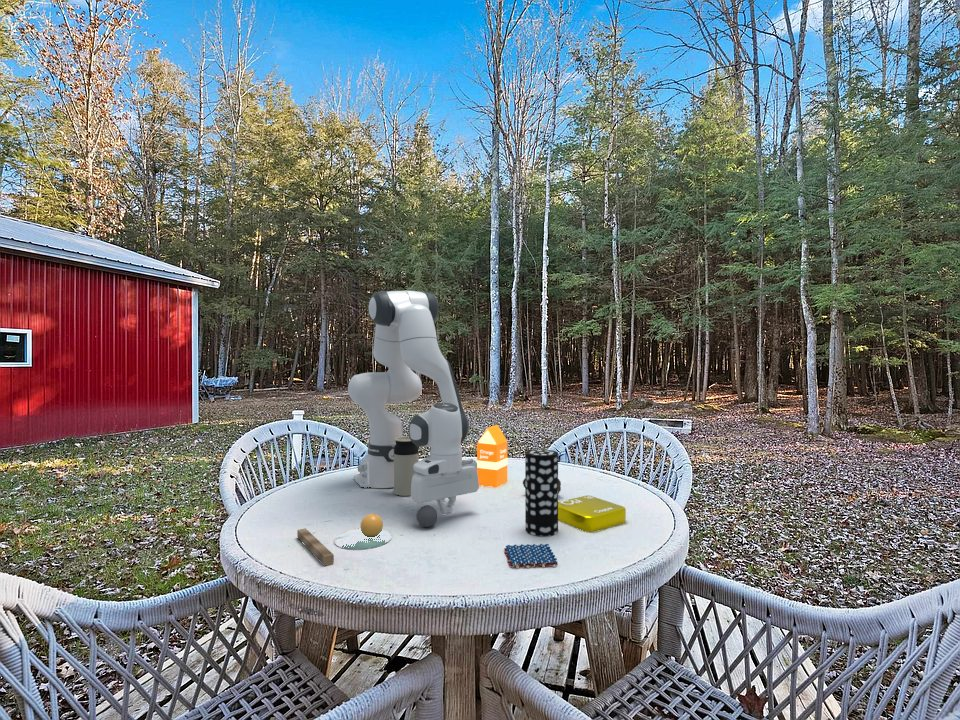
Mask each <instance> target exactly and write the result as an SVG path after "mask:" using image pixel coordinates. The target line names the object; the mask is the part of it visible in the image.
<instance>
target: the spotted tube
mask: <svg viewBox="0 0 960 720" xmlns="http://www.w3.org/2000/svg"><path fill="white" fill-rule="evenodd" d="M524 457H525V458H524V459H525V461H524V463H525V467H524V468H525V470H524V471H525V473H524V474H525V478H524V479H525V487H524V490H525V491H524V493H525V495H524V496H525V499H524V500H525V501H524V502H525V503H524V504H525V505H524V506H525V508H524V509H525V513H524V514H525V515H524V516H525V532H526V533H527V534H530V535H533V536H535V535H536V536H537V537H550V536H551V537H552V536H555V535H556V534H558V533H559V521H558V502H559V494H558V479H559V452H558V451H555V450H551V449H543V448H542V449H539V448H537V449H530V450H526V451H525V456H524Z"/></svg>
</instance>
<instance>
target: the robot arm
mask: <svg viewBox="0 0 960 720" xmlns="http://www.w3.org/2000/svg"><path fill="white" fill-rule="evenodd" d="M368 313H369V318H370V320H371V321H372V322H373V323H374V324H375V330H374V338H373V348H372V349H373V350H372V353H373V354H372V356H373V358H374V359H375V361H376V362H377V363H379V364H381V365H382V366H384V367H386V368H388V370H387V371H383V372H382V371H381V372H379V371H377V372H375V371H373V372H363V373H362V372H361V373H359V374H354V375H353V376H352V377H351V378H350V379H349V382H348V384H347V385H348V386H347V393H348V396H349V398H350V399H351V401H352V402H354V403H355V404H356V405H358V407H360V408H361V410H363V412H364V414H365V415H366V417H367V421H368V427H369V443H368V444H367V445H368V446H367V455H366V456H365V457H364V458H363V459H362V460H361V461H360V463H359V465H357V472H358V473H357V474H355V475H353V478H354V479H355V480H354V479H353V478H352V479H353V480H354V481H355V482H356V484H357V483H358V484H359V485H360V486H359V485H358V484H357V485H358V486H359V488H361V487H364V488H363V489H366V488H367V487H368V488H369V487H371V489H390V488H394V447H395V445H396V441H395V438H397V437H403V422H402V420H401V419H400V417H399V416H397V415H395V414H393V413H392V412H390V411H387V409H386V405H387V404H399V403H400V404H403V403H408V402H412V401H416V400H418V398H419V397H420V396H421V394H422V392H423V391H422V390H423V384H422V383H423V382H422V380H421V378H420V376H419V375H418V374H421V375H423V376H426V377H428V378H430V379H431V380H433V382H434V383H435V384H436V385H437V387H438V390H439V395H440V399H441V402H436V403H433V404H432V405H431V407H430V408H429V409H428V410H426V411H425V412H421V413H418V414H416V415H414V416H413V417H412V418H411V419H410V421H409V424H408V436H409V438H410V440H411V441H412V442H413V443H414V444H415V445H416V446H418V448H419V447H421V448H427V447H429V449H430V451H429V455H428V456H426V457H425V458H423V459H422V460H419V462H417V463H415V464H414V466H413V470H414V471H415V472H416V473H415V474H414V475H413V477H412V482H411V496H410V498H411V500H412V501H414V502H415V503H417V504H423V503H429V502H434V501H436V503H437V504H438V506H439V513H440V514H441V515H446V514H452V513H453V507H454V505H455V503H456V501H457V497H458V496H462V495H467V494H473V493H476V492H478V490H479V488H480V485H479V480H478V473H477V460H474V459H472V458H468V459H463V448H462V443H463V442H464V441H465V439H467V436H468V434H469V431H470V423H469V422H470V421H469V420H468V417H467V415H466V413H465V411H464V408H463V405H462V401H461V397H460V393H459V390H458V386H457V383H456V378H455V376H454V372H453V371H454V370H453V368H452V366H451V364H450V361H449V360H447V358H446V357H444V355H443V353H442V351H441V350H440V347H439V344H438V343H439V342H438V337H437V330H436V326H435V321H436V319H437V317H438V315H439V303H438V298H436V296H435V295H434V294H433V293H432V292H431V293H430V292H428V291H416V290H389V291H386V290H382V291H376V292H374V293H373V294H372V295H370V298H369V302H368ZM416 373H418V374H416ZM368 488H367V489H368ZM445 499H448V502H447V504H446V505H445V504H444V503H445V501H446V500H445Z"/></svg>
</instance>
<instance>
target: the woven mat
mask: <svg viewBox="0 0 960 720" xmlns="http://www.w3.org/2000/svg"><path fill="white" fill-rule="evenodd" d="M503 549H504V554H505V557H506V559H507V564H508V566H509V567H510V568H511V569H512V570H513V569H514V568H515V569H517V570H518V569H520V568H521V570H522V569H523V570H524V569H525V568H526V569H530V568H532V569H533V568H535V567H536V568H539V569H540V568H542V569H545V568H548V569H550V566H552V568H556V567H557V566H558V561H557V559H558V558H556V555H555V554H554V552H553V550H552V549H551V546H550V544H549V543H546V544H544V543H540V544H539V543H538V544H535V543H533V544H532V543H531V544H529V543H528V544H523V543H521V544H516V543H515V544H508V545H506V546H505V547H504V548H503Z"/></svg>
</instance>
